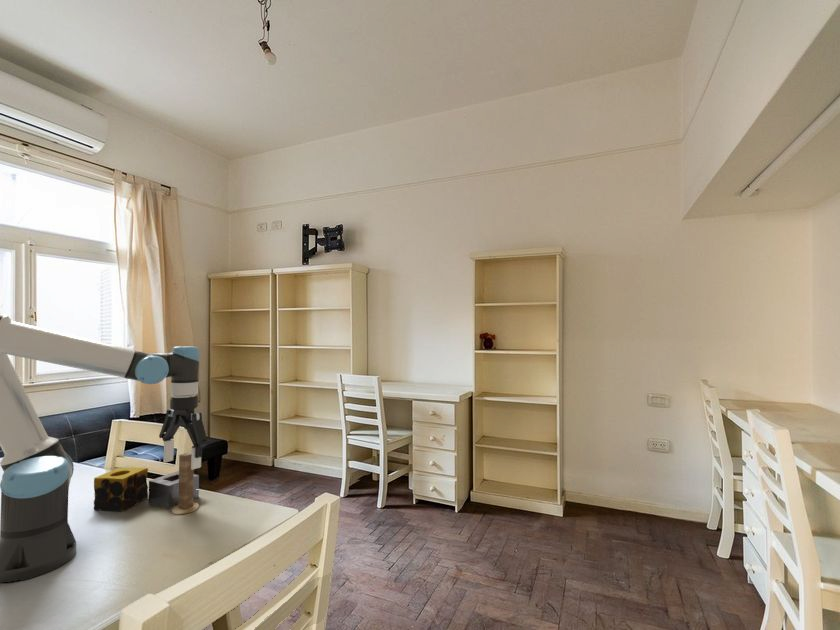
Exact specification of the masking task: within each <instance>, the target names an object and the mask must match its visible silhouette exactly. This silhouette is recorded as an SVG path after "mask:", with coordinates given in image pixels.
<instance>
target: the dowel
mask: <svg viewBox="0 0 840 630" xmlns="http://www.w3.org/2000/svg"><path fill="white" fill-rule="evenodd" d="M191 455H192V452H186V453H182V454H179V458H178V471H179V509H183V510H186V509H188V508H190V507H193V503H194V499H193V486H194V474H195V472H194V471H195V469H193V470H192V469H191Z"/></svg>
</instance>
